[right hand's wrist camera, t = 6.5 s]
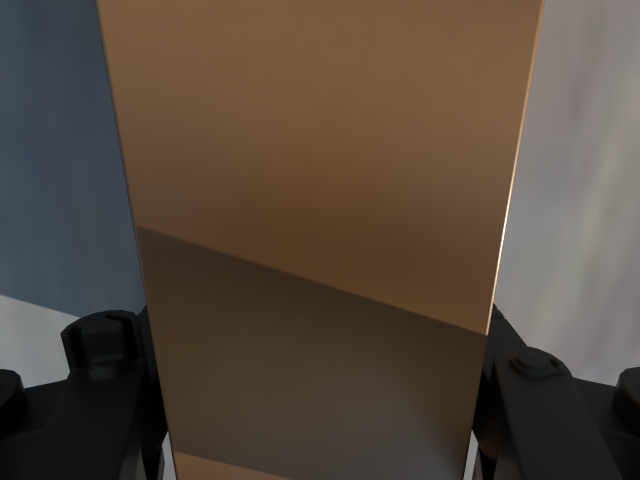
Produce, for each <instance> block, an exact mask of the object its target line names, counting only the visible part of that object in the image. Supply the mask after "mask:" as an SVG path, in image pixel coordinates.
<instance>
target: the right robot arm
mask: <svg viewBox="0 0 640 480" xmlns="http://www.w3.org/2000/svg"><path fill="white" fill-rule="evenodd" d="M60 334H61V338H62V342H63V346H64V350H65V353H66V357H67V361H68V365H69V369H70V373H69V375H68V377H67V379H66V380H62V381H58V382H54V383H49V384H44V385H39V386H34V387H29V388H24V387H23V384H22V380H21V377H20V375H18V374H17V373H16V372H15V371H12V370H5V369H0V480H163V473H164V466H165V461H164V454H163V448H162V443H163V441H164V439H165V436H166V434H167V432H168V427H167V421H166V416H165V410H164V404H163V398H162V392H161V386H160V380H159V374H158V369H157V363H156V357H155V351H154V345H153V339H152V333H151V327H150V322H149V316H148V310H147V304H146V306H145V307H144V308H143V311H142V312H140V313H139V315H138V316H137V315H135V314H134V313H133V312H129V311H124V310H108V311H103V312H98V313H94V314H91V315H88V316H85V317H83V318H80V319H78V320H77V321H75V322H73V323H71V324H70V325H68V326H67V327H66V328H65V329H64V330H63V331H62V332H61V333H60ZM472 430H473V432H474V435H475V437H476V439H477V442H478V448H477V454H476V459H475V465H474V470H473V476H472V480H640V367H635V368H628V369H626V370H624V371H623V372H622V373H621V374H620V376H619V379H618V382H617V386H611V385H606V384H601V383H596V382H591V381H586V380H581V379H577V378H574V377H572V375H571V373H570V371H569V370H568V368H567V367H566V366H565V364H564V363H563V362H562V361H560V360H559V359H557V358H556V357H554V356H553V355H551V354H549V353H547V352H544V351H542V350H540V349H537V348H533V347H528V346H527V345H526V344H525V343H524V341H523V340H522V339H521V338H520V336H519V335H518V334H517V332H516V331H515V330H514V329H513V327H512V326H511V325H510V323H509V322H508V321H507V320H506V319H505V318H504V316H503V314H502V313H501V312H500V311H499V310H497V307H496V305H495V304H494V303H493V308H492V313H491V319H490V325H489V331H488V337H487V343H486V349H485V355H484V360H483V366H482V372H481V378H480V384H479V390H478V396H477V402H476V408H475V413H474V419H473V425H472Z"/></svg>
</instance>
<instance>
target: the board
mask: <svg viewBox="0 0 640 480" xmlns="http://www.w3.org/2000/svg"><path fill="white" fill-rule="evenodd" d="M544 1H545V0H95V4H96V10H97V16H98V22H99V27H100V33H101V39H102V45H103V51H104V57H105V63H106V69H107V74H108V80H109V86H110V92H111V98H112V104H113V110H114V116H115V122H116V127H117V133H118V139H119V145H120V151H121V157H122V163H123V169H124V174H125V180H126V186H127V192H128V198H129V204H130V210H131V216H132V222H133V227H134V233H135V239H136V245H137V251H138V257H139V263H140V269H141V274H142V280H143V286H144V292H145V298H146V304H147V310H148V316H149V322H150V327H151V333H152V339H153V345H154V351H155V357H156V363H157V369H158V374H159V380H160V386H161V392H162V398H163V404H164V410H165V416H166V421H167V427H168V433H169V439H170V445H171V451H172V457H173V463H174V469H175V474H176V480H463V478H464V472H465V466H466V461H467V455H468V449H469V443H470V437H471V431H472V425H473V419H474V413H475V408H476V402H477V396H478V390H479V384H480V378H481V372H482V366H483V360H484V355H485V349H486V343H487V337H488V331H489V325H490V319H491V313H492V308H493V302H494V296H495V290H496V284H497V278H498V272H499V266H500V260H501V255H502V249H503V243H504V237H505V231H506V225H507V219H508V213H509V207H510V202H511V196H512V190H513V184H514V178H515V172H516V166H517V160H518V154H519V149H520V143H521V137H522V131H523V125H524V119H525V113H526V107H527V102H528V96H529V90H530V84H531V78H532V72H533V66H534V60H535V54H536V49H537V43H538V37H539V31H540V25H541V19H542V13H543V7H544Z"/></svg>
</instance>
